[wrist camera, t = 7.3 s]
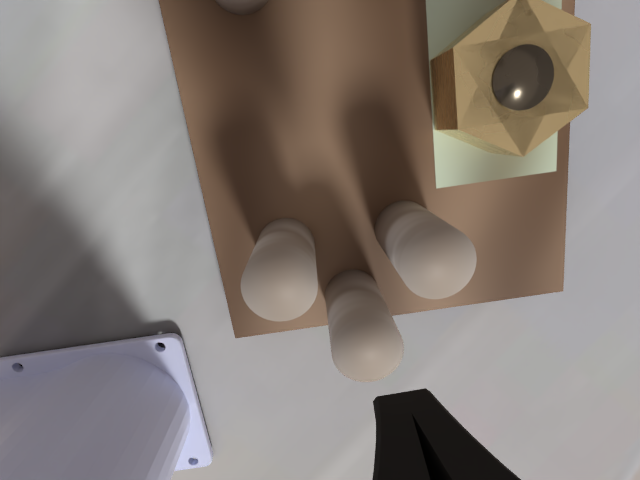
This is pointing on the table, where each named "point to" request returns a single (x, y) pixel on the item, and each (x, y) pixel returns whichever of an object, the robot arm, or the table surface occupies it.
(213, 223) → the board
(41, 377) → the robot arm
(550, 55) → the nut
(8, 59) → the table surface
